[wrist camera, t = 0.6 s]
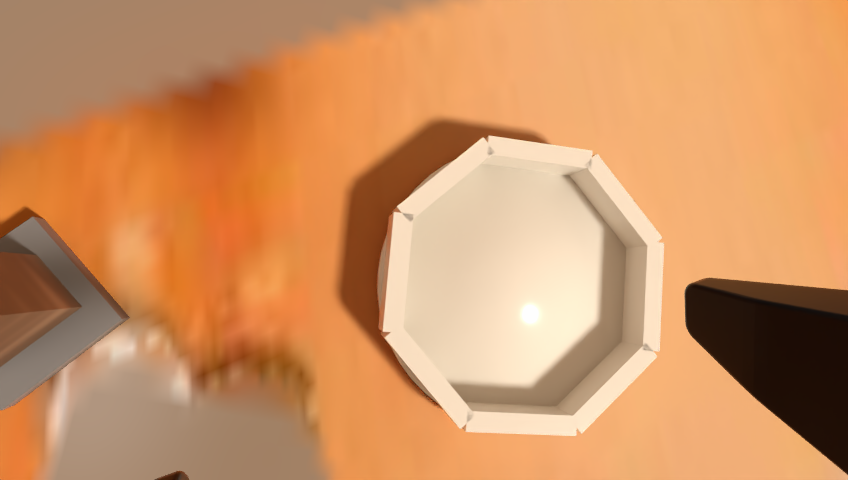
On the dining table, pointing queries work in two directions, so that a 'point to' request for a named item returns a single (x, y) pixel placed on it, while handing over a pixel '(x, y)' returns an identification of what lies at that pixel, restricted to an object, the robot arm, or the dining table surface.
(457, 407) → the saucer
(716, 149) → the dining table surface
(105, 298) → the brown tall rectangular block
